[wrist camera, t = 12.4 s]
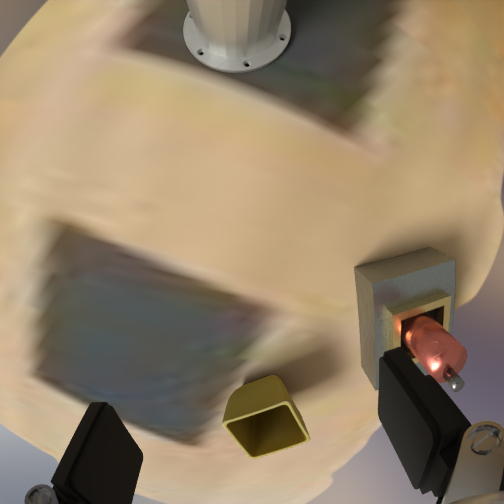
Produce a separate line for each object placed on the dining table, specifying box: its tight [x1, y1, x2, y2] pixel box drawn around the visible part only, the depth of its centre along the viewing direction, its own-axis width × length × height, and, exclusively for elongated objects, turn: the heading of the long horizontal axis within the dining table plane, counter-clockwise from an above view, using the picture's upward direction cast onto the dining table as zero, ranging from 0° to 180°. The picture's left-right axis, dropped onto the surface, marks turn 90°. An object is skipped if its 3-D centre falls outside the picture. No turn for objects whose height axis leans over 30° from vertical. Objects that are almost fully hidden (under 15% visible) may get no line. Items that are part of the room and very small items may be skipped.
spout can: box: [401, 312, 467, 392], centre depth 30 cm, size 5×5×15 cm
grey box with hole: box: [354, 247, 456, 391], centre depth 36 cm, size 16×12×8 cm
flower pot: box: [222, 375, 310, 459], centre depth 38 cm, size 9×9×9 cm
